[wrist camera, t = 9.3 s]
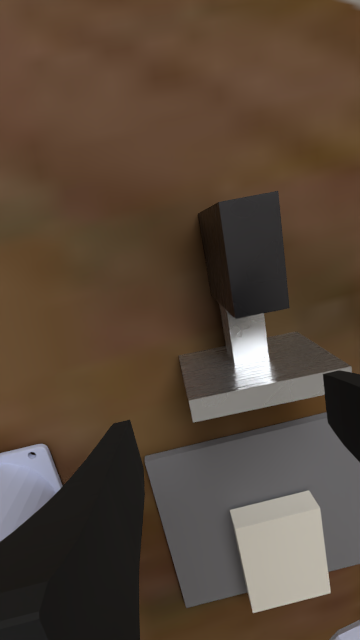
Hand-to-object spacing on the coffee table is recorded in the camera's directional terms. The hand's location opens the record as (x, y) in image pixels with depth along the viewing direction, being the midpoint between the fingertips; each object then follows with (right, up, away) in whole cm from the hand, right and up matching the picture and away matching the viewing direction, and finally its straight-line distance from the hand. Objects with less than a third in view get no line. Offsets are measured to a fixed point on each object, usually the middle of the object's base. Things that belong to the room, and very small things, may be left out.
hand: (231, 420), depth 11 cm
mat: (+5, -11, +13) cm, 17 cm away
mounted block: (+1, +6, +9) cm, 10 cm away
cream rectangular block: (+5, -10, +11) cm, 15 cm away
